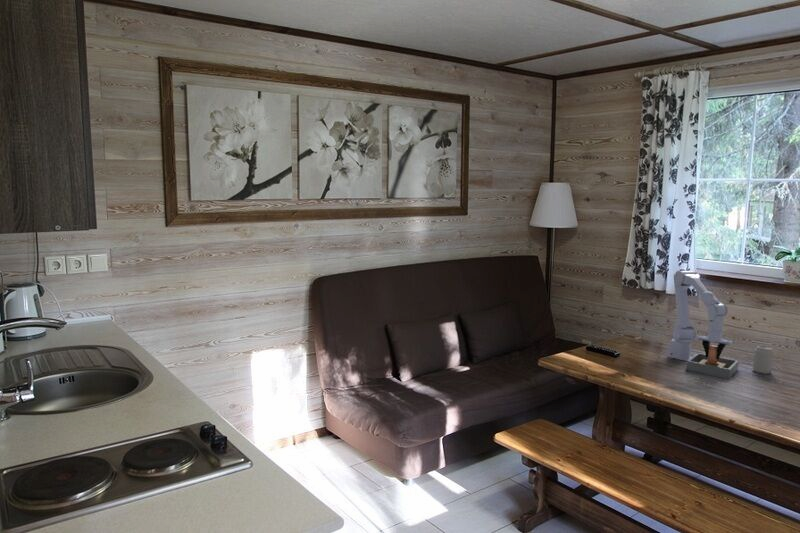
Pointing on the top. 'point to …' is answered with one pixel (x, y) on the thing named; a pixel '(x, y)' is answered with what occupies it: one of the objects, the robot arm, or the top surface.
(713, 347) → the peg
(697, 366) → the box
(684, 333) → the robot arm
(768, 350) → the can
